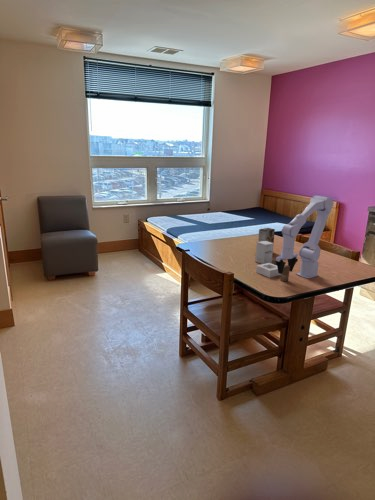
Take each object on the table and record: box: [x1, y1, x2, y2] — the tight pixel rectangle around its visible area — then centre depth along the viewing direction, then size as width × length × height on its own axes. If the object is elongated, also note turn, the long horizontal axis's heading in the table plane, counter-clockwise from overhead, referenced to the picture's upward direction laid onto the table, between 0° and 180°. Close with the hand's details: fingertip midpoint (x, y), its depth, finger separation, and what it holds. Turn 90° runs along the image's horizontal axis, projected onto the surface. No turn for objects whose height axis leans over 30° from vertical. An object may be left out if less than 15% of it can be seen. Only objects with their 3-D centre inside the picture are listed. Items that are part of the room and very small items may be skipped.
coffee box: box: [257, 227, 276, 243], centre depth 232 cm, size 9×6×16 cm
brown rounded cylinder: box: [280, 264, 290, 283], centre depth 183 cm, size 4×4×8 cm
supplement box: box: [254, 241, 274, 265], centre depth 211 cm, size 7×7×13 cm
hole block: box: [255, 263, 281, 279], centre depth 193 cm, size 10×10×4 cm
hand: (285, 272), depth 182 cm, fingers open, 7 cm apart
